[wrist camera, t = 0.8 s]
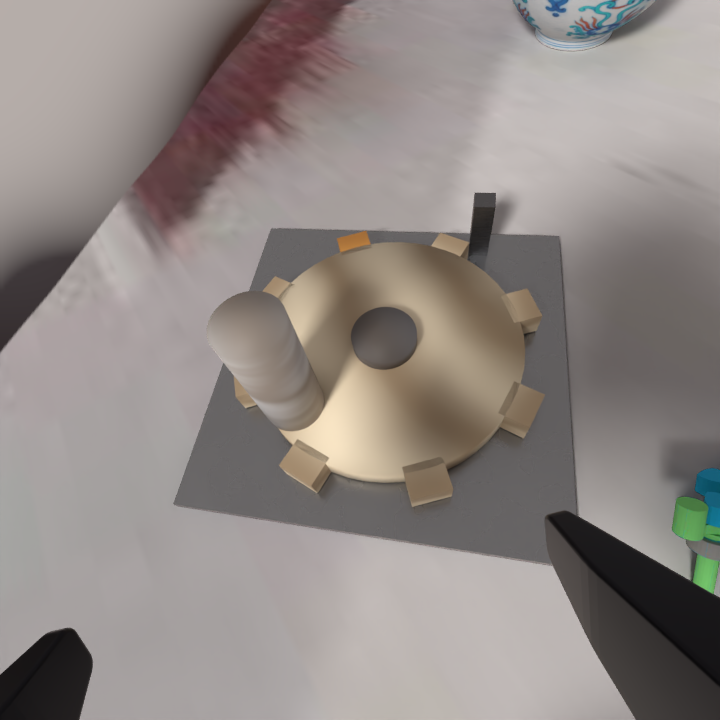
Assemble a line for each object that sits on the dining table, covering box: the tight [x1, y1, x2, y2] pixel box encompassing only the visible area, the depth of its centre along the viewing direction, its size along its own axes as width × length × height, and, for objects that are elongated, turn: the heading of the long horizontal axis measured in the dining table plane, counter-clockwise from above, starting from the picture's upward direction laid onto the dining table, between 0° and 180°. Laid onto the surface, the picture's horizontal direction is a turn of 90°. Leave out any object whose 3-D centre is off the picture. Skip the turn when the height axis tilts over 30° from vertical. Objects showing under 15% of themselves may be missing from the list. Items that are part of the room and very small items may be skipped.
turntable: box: [207, 231, 545, 507], centre depth 22 cm, size 17×17×9 cm
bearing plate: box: [174, 193, 577, 566], centre depth 25 cm, size 20×20×4 cm
